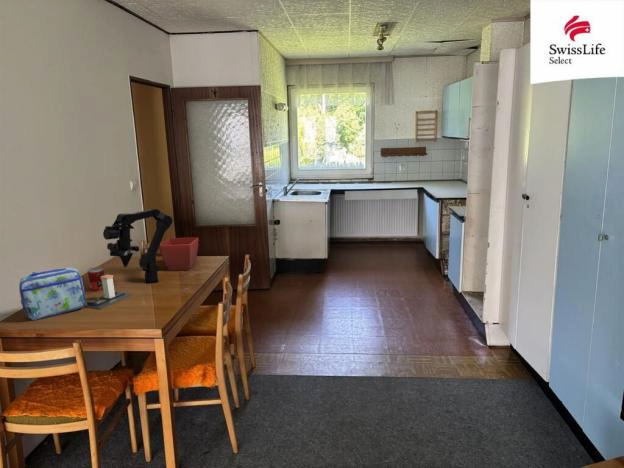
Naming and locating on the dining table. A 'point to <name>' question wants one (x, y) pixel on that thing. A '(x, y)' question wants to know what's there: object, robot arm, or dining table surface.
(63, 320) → the dining table surface
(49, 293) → the lunch box
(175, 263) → the plant pot
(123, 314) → the dining table surface
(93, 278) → the canned food
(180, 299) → the dining table surface
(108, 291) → the fader knob
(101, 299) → the plate
